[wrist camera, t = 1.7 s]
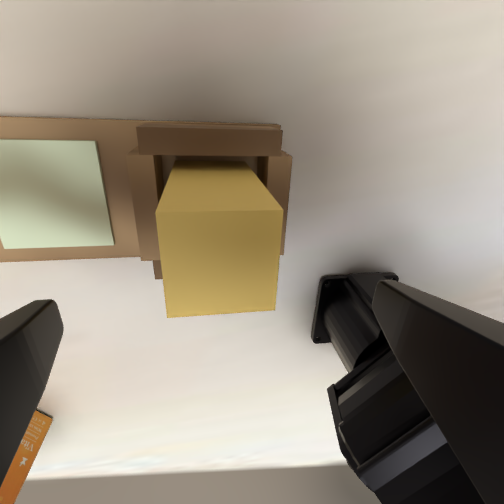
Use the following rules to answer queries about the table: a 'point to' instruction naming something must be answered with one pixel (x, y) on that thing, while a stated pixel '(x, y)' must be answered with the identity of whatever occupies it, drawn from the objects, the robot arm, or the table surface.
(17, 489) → the small box
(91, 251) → the board
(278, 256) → the block
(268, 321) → the table surface
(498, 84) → the table surface
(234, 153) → the pocket
